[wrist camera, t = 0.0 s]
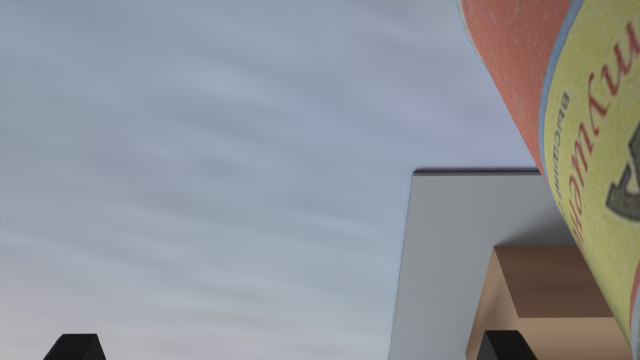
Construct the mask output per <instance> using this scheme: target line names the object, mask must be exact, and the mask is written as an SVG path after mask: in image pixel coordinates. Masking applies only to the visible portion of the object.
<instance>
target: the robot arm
mask: <svg viewBox="0 0 640 360" xmlns="http://www.w3.org/2000/svg"><path fill="white" fill-rule="evenodd" d="M43 360H106V358H105V355H104V353H103V350H102V347H101V344H100V342H99V339H98V336H97V334H63V335H62V336H61V337H59V339H58V340H57V341H56V343H55V344H54V345H53V347H52V348H51V349H50V351H49V352H48V354H47V355H46V356H45V358H44V359H43ZM476 360H538V359H537V357H536V356H535V354H534V353H533V351H532V350H531V348H530V346H529V345H528V343H527V342H526V340H525V339H524V337H523V335H522V334H521V333H520V332H519V331H518V330H485V331H484V334H483V338H482V341H481V345H480V348H479V352H478V355H477V359H476Z"/></svg>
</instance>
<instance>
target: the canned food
mask: <svg viewBox="0 0 640 360" xmlns="http://www.w3.org/2000/svg"><path fill="white" fill-rule="evenodd" d="M457 5H458V10H459V13H460V17H461V21H462V24H463V27H464V29H465V32H466V34H467V37H468V39H469V41H470V43H471V45H472V47H473V48H474V50H475V52H476V54H477V56H478V57H479V59H480V60H481V61H482V63H483V64H484V66H485V67H486V68H487V70H488V71H489V73H490V75H491V77H492V79H493V81H494V83H495V85H496V87H497V88H498V90H499V92H500V94H501V96H502V98H503V100H504V102H505V104H506V106H507V108H508V110H509V112H510V114H511V116H512V118H513V120H514V122H515V124H516V126H517V128H518V130H519V132H520V134H521V136H522V138H523V139H524V141H525V143H526V145H527V147H528V149H529V151H530V153H531V155H532V157H533V159H534V161H535V163H536V165H537V167H538V169H539V171H540V173H541V175H542V177H543V179H544V181H545V183H546V185H547V187H548V188H549V190H550V192H551V194H552V196H553V198H554V200H555V202H556V204H557V206H558V208H559V210H560V212H561V214H562V216H563V218H564V220H565V222H566V224H567V226H568V228H569V230H570V232H571V234H572V236H573V238H574V239H575V241H576V243H577V245H578V247H579V249H580V251H581V253H582V255H583V257H584V259H585V261H586V263H587V265H588V267H589V269H590V271H591V273H592V275H593V277H594V279H595V281H596V283H597V285H598V287H599V288H600V290H601V292H602V294H603V296H604V298H605V300H606V302H607V304H608V306H609V308H610V310H611V312H612V314H613V316H614V318H615V320H616V322H617V324H618V326H619V328H620V330H621V332H622V334H623V336H624V338H625V339H626V341H627V343H628V345H629V347H630V349H631V351H632V357H633V360H640V0H457Z"/></svg>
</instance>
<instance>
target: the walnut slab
mask: <svg viewBox="0 0 640 360" xmlns="http://www.w3.org/2000/svg"><path fill="white" fill-rule="evenodd" d="M485 330H518V331H519V332H520V333H521V334H522V335H523V337H524V339H525V340H526V342H527V343H528V345H529V346H530V348H531V350H532V351H533V353H534V354H535V356H536V357H537V359H538V360H633V357H632V351H631V349H630V347H629V345H628V343H627V341H626V339H625V338H624V336H623V334H622V332H621V330H620V328H619V326H618V324H617V322H616V320H615V318H614V316H613V314H612V312H611V310H610V308H609V306H608V304H607V302H606V300H605V298H604V296H603V294H602V292H601V290H600V288H599V287H598V285H597V283H596V281H595V279H594V277H593V275H592V273H591V271H590V269H589V267H588V265H587V263H586V261H585V259H584V257H583V255H582V253H581V251H580V249H579V247H578V246H493V250H492V254H491V257H490V261H489V265H488V269H487V273H486V276H485V280H484V284H483V288H482V292H481V296H480V299H479V303H478V307H477V311H476V315H475V318H474V322H473V326H472V330H471V334H470V337H469V341H468V345H467V349H466V353H465V355H466V359H467V360H476V359H477V355H478V352H479V348H480V345H481V341H482V338H483V334H484V331H485Z"/></svg>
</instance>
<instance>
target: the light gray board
mask: <svg viewBox="0 0 640 360" xmlns="http://www.w3.org/2000/svg"><path fill="white" fill-rule="evenodd" d="M493 246H578V245H577V243H576V241H575V239H574V238H573V236H572V234H571V232H570V230H569V228H568V226H567V224H566V222H565V220H564V218H563V216H562V214H561V212H560V210H559V208H558V206H557V204H556V202H555V200H554V198H553V196H552V194H551V192H550V190H549V188H548V187H547V185H546V183H545V181H544V179H543V177H542V175H541V173H540V172H436V173H413V175H412V182H411V190H410V198H409V206H408V213H407V221H406V229H405V236H404V244H403V252H402V260H401V267H400V275H399V283H398V290H397V298H396V306H395V314H394V321H393V329H392V337H391V345H390V352H389V360H467V359H466V355H465V353H466V349H467V345H468V341H469V337H470V334H471V330H472V326H473V322H474V318H475V315H476V311H477V307H478V303H479V299H480V296H481V292H482V288H483V284H484V280H485V276H486V273H487V269H488V265H489V261H490V257H491V254H492V250H493Z"/></svg>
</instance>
